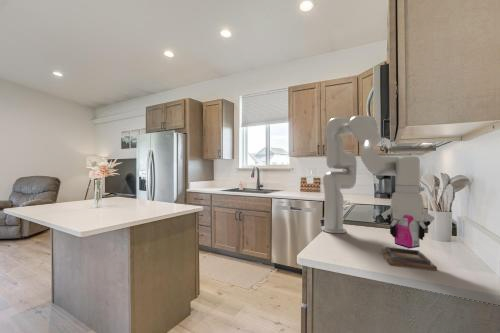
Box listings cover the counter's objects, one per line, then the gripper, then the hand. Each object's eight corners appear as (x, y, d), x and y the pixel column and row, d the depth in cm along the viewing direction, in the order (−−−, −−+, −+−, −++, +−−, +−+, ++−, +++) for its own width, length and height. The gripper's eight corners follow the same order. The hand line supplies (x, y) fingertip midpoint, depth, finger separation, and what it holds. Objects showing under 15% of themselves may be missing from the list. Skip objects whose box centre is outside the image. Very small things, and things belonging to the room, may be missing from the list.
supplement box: (404, 242, 92) (404, 212, 92) (420, 247, 87) (420, 215, 87) (393, 243, 90) (393, 213, 90) (408, 248, 85) (409, 216, 85)
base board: (381, 251, 97) (381, 245, 97) (421, 256, 93) (421, 249, 93) (389, 264, 84) (389, 257, 84) (437, 270, 79) (437, 263, 79)
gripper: (431, 190, 89) (430, 237, 89) (378, 188, 95) (378, 232, 94) (439, 191, 82) (439, 243, 82) (382, 189, 87) (382, 237, 87)
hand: (406, 237), depth 88 cm, fingers closed on supplement box, 8 cm apart
